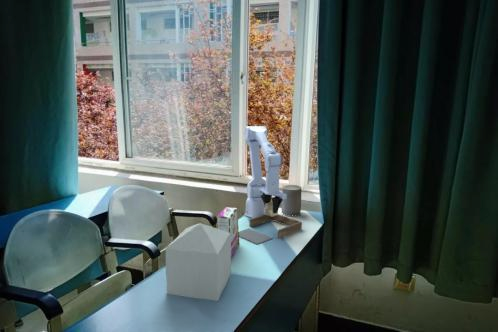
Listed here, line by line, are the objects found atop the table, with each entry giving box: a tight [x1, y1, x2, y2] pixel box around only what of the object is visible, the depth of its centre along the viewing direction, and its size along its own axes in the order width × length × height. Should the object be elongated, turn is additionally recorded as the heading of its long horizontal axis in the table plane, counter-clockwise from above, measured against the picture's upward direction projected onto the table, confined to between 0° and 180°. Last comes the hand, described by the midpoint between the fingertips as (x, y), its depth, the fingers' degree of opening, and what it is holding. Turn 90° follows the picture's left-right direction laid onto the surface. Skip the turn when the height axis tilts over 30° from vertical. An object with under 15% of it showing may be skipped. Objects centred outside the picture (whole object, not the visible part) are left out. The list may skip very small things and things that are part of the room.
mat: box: [238, 228, 273, 245], centre depth 146 cm, size 14×9×1 cm, turn 45°
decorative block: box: [165, 222, 232, 302], centre depth 107 cm, size 16×16×20 cm
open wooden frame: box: [249, 213, 303, 239], centre depth 156 cm, size 18×15×4 cm
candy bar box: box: [216, 206, 238, 259], centre depth 129 cm, size 11×5×16 cm, turn 168°
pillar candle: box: [281, 184, 302, 217], centre depth 175 cm, size 10×10×15 cm
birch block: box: [265, 201, 279, 217], centre depth 152 cm, size 4×4×5 cm
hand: (271, 211), depth 153 cm, fingers closed on birch block, 4 cm apart
